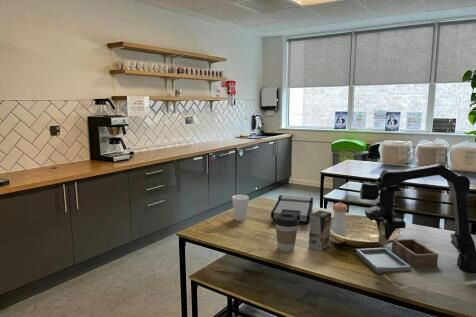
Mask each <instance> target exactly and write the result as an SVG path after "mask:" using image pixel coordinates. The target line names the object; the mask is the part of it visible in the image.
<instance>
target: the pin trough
mask: <svg viewBox="0 0 476 317" xmlns="http://www.w3.org/2000/svg"><path fill="white" fill-rule="evenodd" d="M391 252H392V253H394V254H395V255H396V256H398V257H399V258H400V259H402V260H403V261H404V262H406V263H407V264H408V265H410V266H411V267H414V268H427V267H438V259H439V253H437V252H435V251H434V250H432V249H430V248H429V247H427V246H425V245H424V244H423V243H420V242H419V241H417V240H416V239H414V238H404V239H403V238H402V239H392V240H391Z"/></svg>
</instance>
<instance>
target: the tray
mask: <svg viewBox="0 0 476 317" xmlns="http://www.w3.org/2000/svg"><path fill="white" fill-rule="evenodd" d="M355 255H356V256H357V257H358V258H359V259H360V260H361V261H363V263H364V264H366V265H367V267H369V268H370V269H371V270H372V271H373V272H374V273H376V274H377V275H385V273H386V272H387V273H388V272H389V273H390V272H401V271H403V272H405V271H411V270H412V265H411V264H409V263H408V262H406V261H405V260H404V259H402V258H401V257H400V256H398V255H397V254H396V253H394V252H393V251H392V250H391V249H390V250H389V249H388V248H387V247H374V248H373V247H372V248H371V247H369V248H368V247H367V248H355Z"/></svg>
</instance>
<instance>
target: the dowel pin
mask: <svg viewBox="0 0 476 317" xmlns="http://www.w3.org/2000/svg"><path fill="white" fill-rule="evenodd" d="M382 224H386V221H380V226H379V230H378V238H377V239H378V240H377V241H378V244H380V245H383V246H387V245H389V244H390V238H389V239H388V240H386V239H385V227H384V226H383V225H382Z"/></svg>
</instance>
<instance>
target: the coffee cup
mask: <svg viewBox="0 0 476 317" xmlns="http://www.w3.org/2000/svg"><path fill="white" fill-rule="evenodd" d="M273 222H274V224H275V233H276V242H277V248H278V250H279V251H281V252H285V253H287V252H292V251H294V248H295V246H296V239H297V234H298V226H299V225H300V224H299V220H298V219H297V217H296V216H295V215H292V214H280V215H278V216H277V218H275V221H274V220H273Z"/></svg>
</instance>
